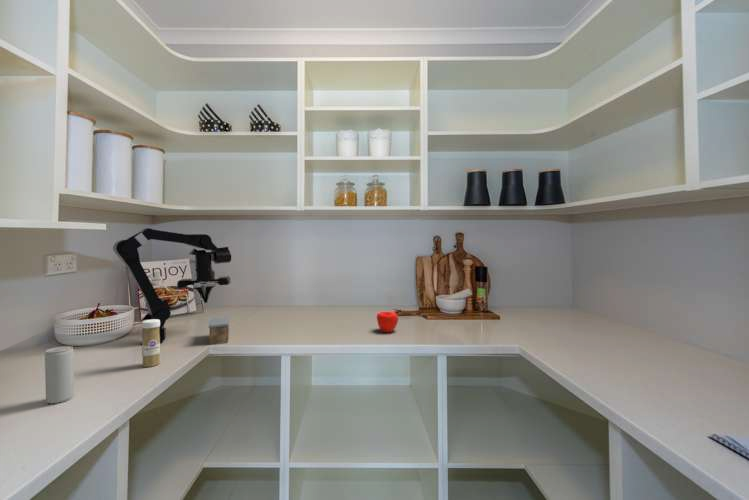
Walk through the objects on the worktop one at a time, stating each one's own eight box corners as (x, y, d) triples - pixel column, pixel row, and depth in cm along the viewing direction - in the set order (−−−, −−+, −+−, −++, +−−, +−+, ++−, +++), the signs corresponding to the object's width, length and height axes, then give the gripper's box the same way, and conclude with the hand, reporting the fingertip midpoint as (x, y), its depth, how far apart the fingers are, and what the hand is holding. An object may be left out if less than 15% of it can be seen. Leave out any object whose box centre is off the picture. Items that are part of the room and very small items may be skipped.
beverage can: (80, 394, 78) (79, 345, 78) (61, 404, 73) (60, 352, 73) (59, 395, 78) (58, 345, 78) (39, 405, 73) (38, 352, 73)
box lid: (208, 327, 116) (208, 325, 116) (211, 320, 128) (211, 318, 128) (228, 325, 119) (227, 323, 119) (229, 318, 130) (229, 316, 130)
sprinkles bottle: (146, 368, 94) (146, 322, 94) (139, 365, 97) (138, 321, 96) (163, 363, 98) (163, 319, 98) (155, 360, 101) (155, 317, 100)
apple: (399, 329, 139) (399, 311, 139) (395, 334, 131) (396, 315, 131) (379, 327, 141) (379, 309, 141) (374, 333, 133) (374, 314, 133)
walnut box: (209, 344, 117) (209, 328, 117) (212, 335, 128) (212, 320, 128) (227, 342, 119) (227, 326, 119) (229, 334, 130) (228, 319, 130)
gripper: (231, 261, 142) (233, 296, 143) (184, 264, 137) (186, 300, 138) (227, 264, 131) (229, 302, 132) (175, 267, 126) (178, 306, 128)
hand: (206, 302), depth 133 cm, fingers closed
